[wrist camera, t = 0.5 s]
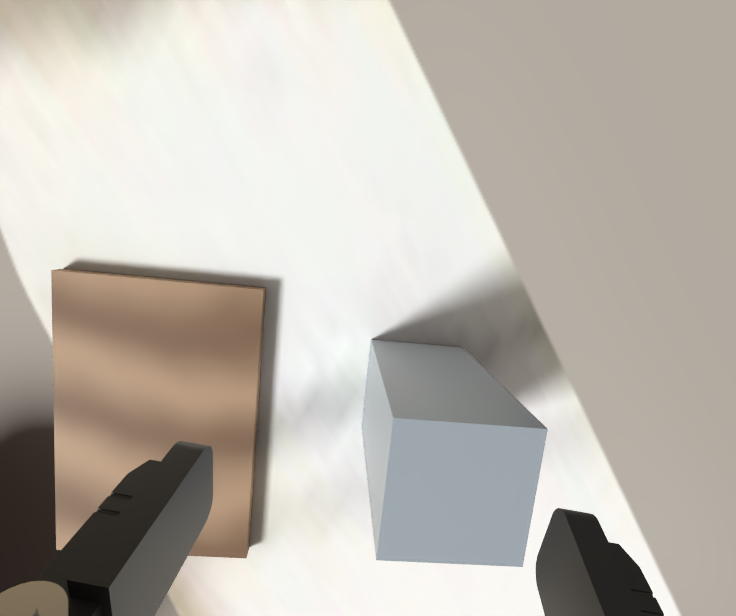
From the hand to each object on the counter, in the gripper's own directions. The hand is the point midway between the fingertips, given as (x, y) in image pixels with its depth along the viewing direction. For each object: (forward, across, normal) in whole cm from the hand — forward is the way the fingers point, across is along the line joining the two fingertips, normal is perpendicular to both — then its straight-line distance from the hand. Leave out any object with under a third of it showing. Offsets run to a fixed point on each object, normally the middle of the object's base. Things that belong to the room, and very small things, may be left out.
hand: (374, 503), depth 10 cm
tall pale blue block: (+18, -2, +7) cm, 19 cm away
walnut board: (+15, +14, +10) cm, 23 cm away
